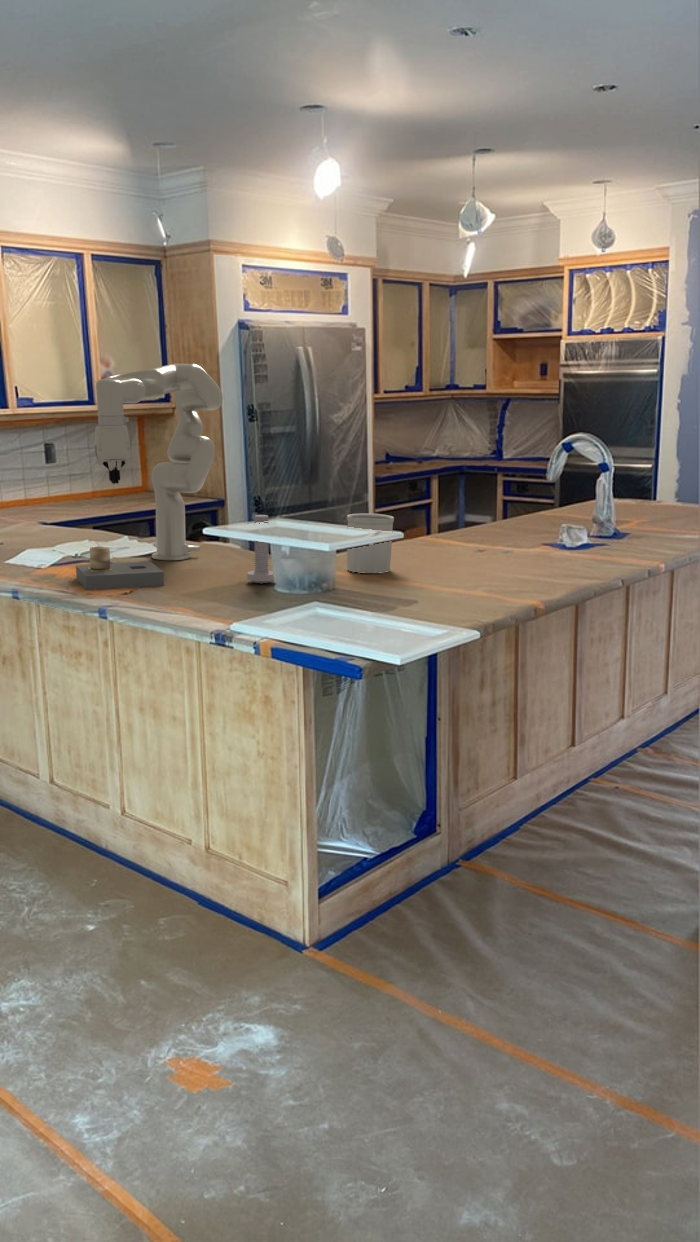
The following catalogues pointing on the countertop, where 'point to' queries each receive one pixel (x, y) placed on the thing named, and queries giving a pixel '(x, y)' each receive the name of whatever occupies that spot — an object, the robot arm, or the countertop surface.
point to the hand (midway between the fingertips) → (114, 482)
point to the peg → (100, 558)
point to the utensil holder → (373, 555)
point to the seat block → (120, 576)
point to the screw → (261, 559)
